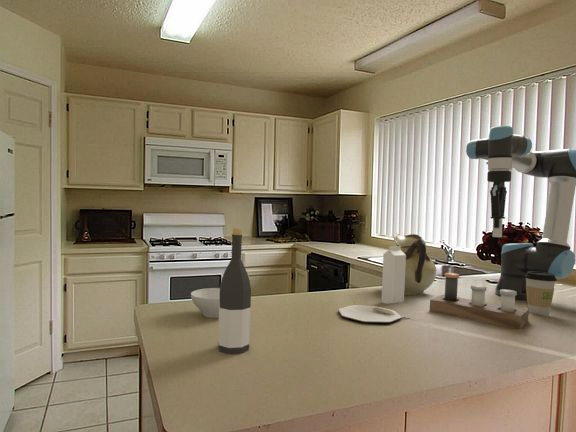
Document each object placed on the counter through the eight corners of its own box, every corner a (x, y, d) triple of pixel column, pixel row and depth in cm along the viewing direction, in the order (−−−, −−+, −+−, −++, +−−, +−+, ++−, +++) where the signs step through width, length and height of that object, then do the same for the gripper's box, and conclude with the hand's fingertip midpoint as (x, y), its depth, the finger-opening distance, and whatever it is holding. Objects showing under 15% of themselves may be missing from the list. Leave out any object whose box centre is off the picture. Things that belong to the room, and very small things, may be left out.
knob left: (500, 315, 135) (501, 288, 134) (516, 318, 131) (518, 291, 131) (496, 318, 131) (498, 290, 131) (513, 321, 128) (514, 293, 127)
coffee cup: (559, 319, 140) (562, 276, 140) (528, 317, 142) (530, 274, 142) (547, 312, 150) (549, 272, 149) (518, 310, 152) (520, 270, 151)
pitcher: (399, 284, 192) (402, 232, 191) (447, 294, 175) (450, 237, 174) (371, 291, 177) (373, 234, 176) (421, 302, 160) (424, 239, 159)
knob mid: (472, 310, 140) (473, 284, 140) (486, 313, 137) (488, 286, 137) (467, 312, 137) (468, 286, 137) (482, 315, 134) (484, 288, 133)
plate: (409, 318, 137) (410, 313, 136) (380, 330, 122) (380, 325, 122) (360, 306, 150) (360, 302, 150) (327, 316, 135) (327, 311, 135)
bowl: (249, 312, 135) (250, 291, 135) (222, 324, 120) (222, 301, 120) (209, 306, 142) (210, 286, 141) (179, 316, 127) (180, 294, 127)
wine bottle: (244, 355, 97) (248, 230, 96) (212, 352, 98) (216, 228, 97) (253, 344, 105) (257, 228, 104) (223, 341, 106) (226, 227, 105)
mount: (442, 307, 151) (442, 294, 151) (527, 324, 132) (528, 309, 132) (429, 313, 142) (430, 299, 142) (519, 332, 123) (520, 316, 123)
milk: (403, 304, 154) (407, 246, 153) (392, 306, 151) (395, 247, 150) (392, 300, 159) (395, 245, 159) (380, 302, 156) (383, 245, 156)
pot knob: (446, 297, 146) (447, 272, 146) (459, 299, 143) (461, 274, 143) (441, 299, 143) (442, 273, 142) (455, 301, 139) (456, 275, 139)
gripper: (492, 172, 151) (490, 235, 152) (482, 170, 141) (480, 237, 142) (515, 171, 146) (513, 236, 147) (506, 169, 136) (504, 239, 138)
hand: (497, 236), depth 145 cm, fingers closed
